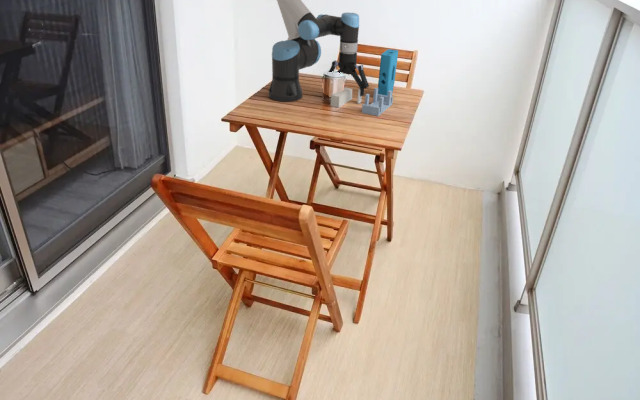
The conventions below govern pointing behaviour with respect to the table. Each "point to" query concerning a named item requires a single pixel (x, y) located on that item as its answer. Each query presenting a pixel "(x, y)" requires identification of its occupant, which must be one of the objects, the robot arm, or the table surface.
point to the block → (387, 71)
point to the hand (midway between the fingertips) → (345, 100)
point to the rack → (377, 103)
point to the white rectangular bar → (341, 97)
